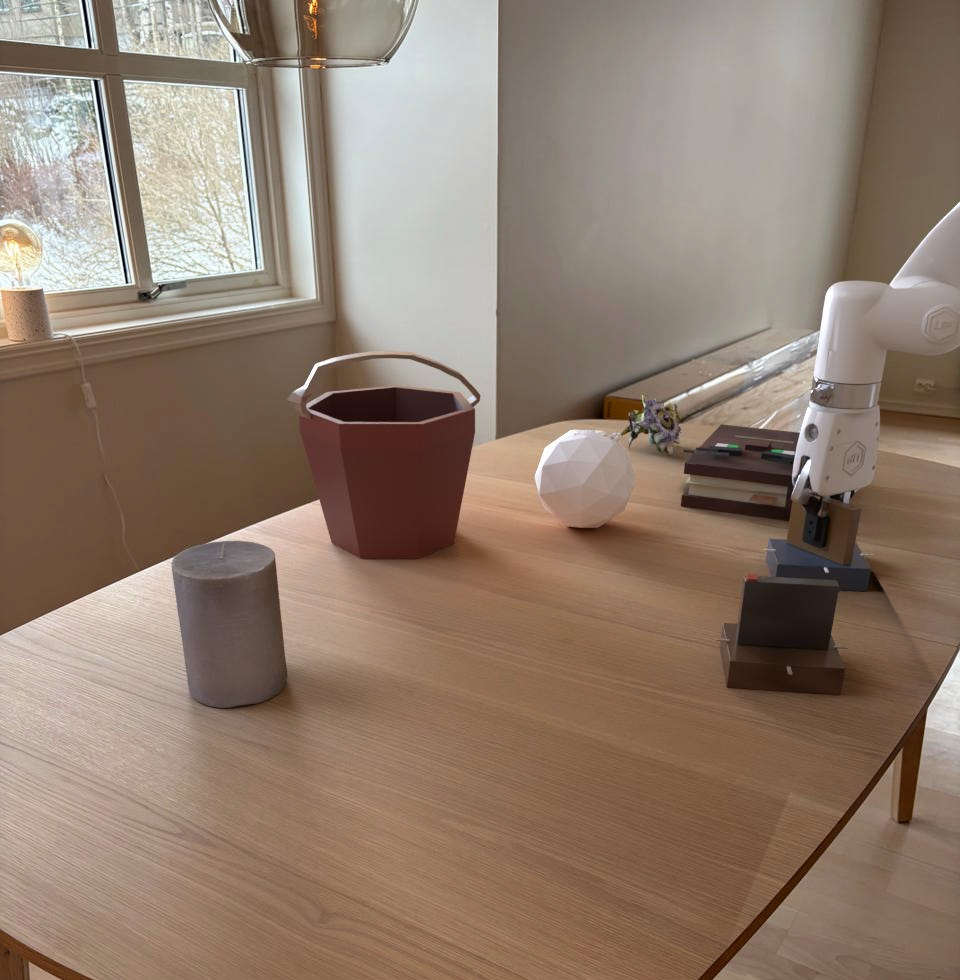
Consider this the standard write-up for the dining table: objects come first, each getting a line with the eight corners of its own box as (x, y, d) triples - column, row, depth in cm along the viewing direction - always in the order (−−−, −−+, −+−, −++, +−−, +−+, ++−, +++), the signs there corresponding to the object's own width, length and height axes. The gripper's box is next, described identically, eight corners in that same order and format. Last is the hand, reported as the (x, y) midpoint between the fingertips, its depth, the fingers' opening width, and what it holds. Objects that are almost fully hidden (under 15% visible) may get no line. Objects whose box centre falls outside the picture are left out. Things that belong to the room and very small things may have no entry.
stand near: (831, 645, 107) (836, 619, 105) (856, 706, 95) (861, 677, 94) (708, 638, 108) (711, 612, 107) (717, 697, 97) (720, 668, 95)
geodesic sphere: (627, 462, 149) (579, 391, 141) (677, 489, 137) (628, 413, 129) (553, 529, 149) (501, 462, 141) (598, 562, 137) (543, 490, 129)
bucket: (290, 566, 127) (272, 369, 116) (317, 510, 147) (304, 337, 136) (479, 566, 127) (479, 369, 116) (481, 511, 147) (481, 338, 136)
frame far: (851, 562, 120) (861, 506, 117) (842, 565, 120) (853, 508, 116) (794, 540, 127) (802, 486, 124) (786, 543, 126) (794, 488, 123)
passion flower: (664, 483, 177) (669, 441, 166) (609, 465, 180) (609, 422, 170) (688, 437, 181) (693, 393, 171) (633, 420, 184) (635, 375, 174)
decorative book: (834, 427, 162) (809, 476, 137) (827, 472, 165) (801, 527, 140) (717, 415, 169) (673, 460, 144) (712, 458, 172) (668, 509, 148)
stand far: (857, 558, 130) (861, 536, 128) (880, 599, 118) (884, 574, 117) (755, 553, 131) (758, 531, 130) (767, 592, 120) (770, 568, 118)
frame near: (825, 643, 101) (837, 577, 97) (828, 650, 99) (840, 584, 96) (735, 637, 102) (744, 572, 98) (737, 644, 100) (745, 579, 97)
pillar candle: (232, 655, 105) (216, 521, 98) (307, 675, 100) (295, 537, 94) (167, 695, 97) (144, 552, 90) (245, 719, 93) (227, 571, 86)
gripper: (824, 408, 108) (800, 564, 116) (915, 392, 116) (886, 539, 124) (772, 396, 114) (752, 545, 122) (862, 381, 121) (837, 522, 129)
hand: (820, 541), depth 123 cm, fingers closed on frame far
